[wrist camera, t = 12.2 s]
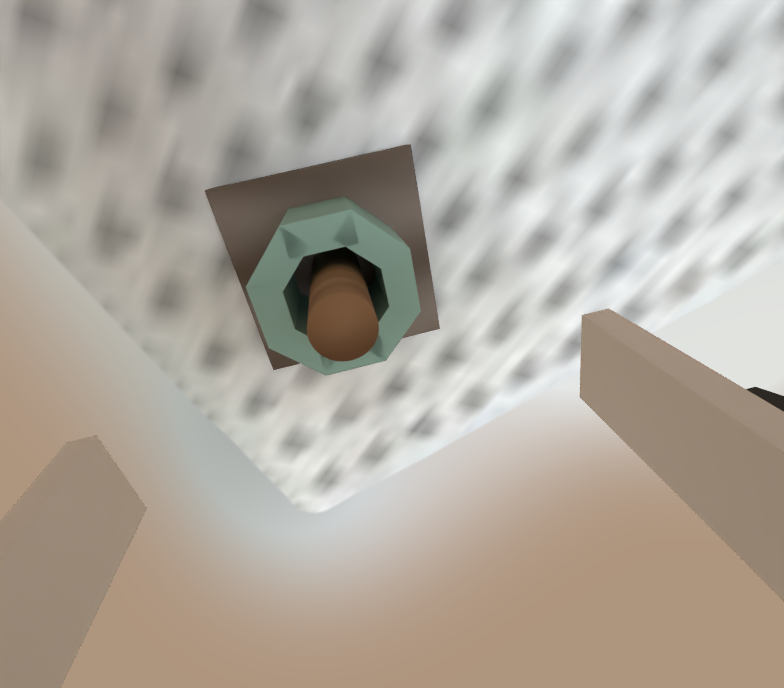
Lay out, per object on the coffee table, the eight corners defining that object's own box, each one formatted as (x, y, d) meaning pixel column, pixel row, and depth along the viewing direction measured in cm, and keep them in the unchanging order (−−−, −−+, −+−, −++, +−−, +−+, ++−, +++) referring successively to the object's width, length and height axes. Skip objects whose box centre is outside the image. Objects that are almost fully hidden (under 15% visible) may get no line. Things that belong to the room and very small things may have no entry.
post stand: (209, 188, 24) (131, 217, 14) (407, 144, 25) (464, 142, 15) (275, 363, 29) (252, 471, 20) (436, 323, 30) (491, 408, 20)
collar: (248, 217, 24) (227, 237, 19) (383, 187, 24) (401, 198, 19) (290, 340, 28) (283, 386, 22) (407, 311, 28) (427, 350, 23)
